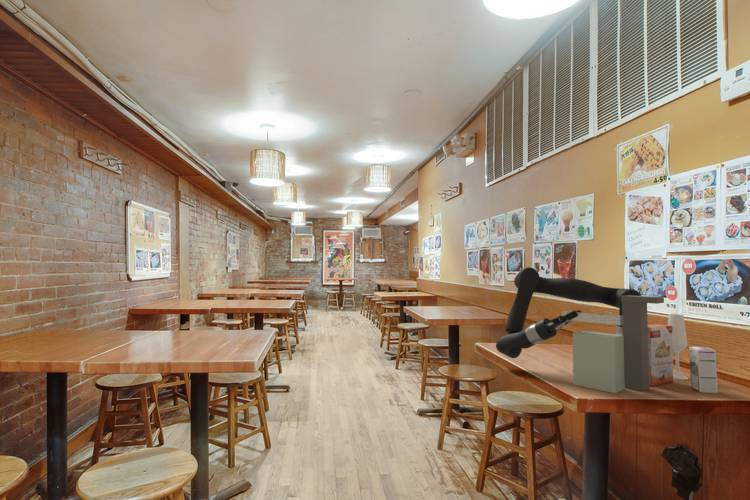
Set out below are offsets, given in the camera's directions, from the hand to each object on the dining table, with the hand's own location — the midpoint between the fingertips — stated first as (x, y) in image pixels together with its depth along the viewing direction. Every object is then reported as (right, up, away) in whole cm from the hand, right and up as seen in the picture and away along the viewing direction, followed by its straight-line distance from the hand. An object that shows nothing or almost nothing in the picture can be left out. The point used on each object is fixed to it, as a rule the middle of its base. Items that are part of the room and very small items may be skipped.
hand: (578, 312), depth 155 cm
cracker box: (+28, -26, 0) cm, 38 cm away
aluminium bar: (+3, -3, -4) cm, 5 cm away
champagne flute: (+42, -26, +8) cm, 50 cm away
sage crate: (+4, -25, -6) cm, 26 cm away
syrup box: (+38, -25, -10) cm, 47 cm away
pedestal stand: (+18, -25, -9) cm, 32 cm away
